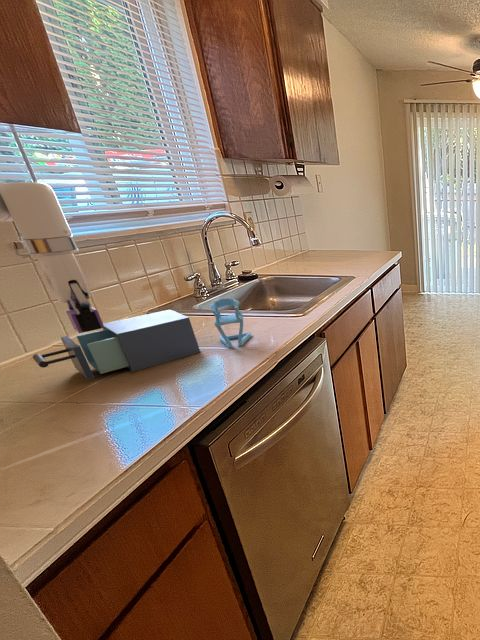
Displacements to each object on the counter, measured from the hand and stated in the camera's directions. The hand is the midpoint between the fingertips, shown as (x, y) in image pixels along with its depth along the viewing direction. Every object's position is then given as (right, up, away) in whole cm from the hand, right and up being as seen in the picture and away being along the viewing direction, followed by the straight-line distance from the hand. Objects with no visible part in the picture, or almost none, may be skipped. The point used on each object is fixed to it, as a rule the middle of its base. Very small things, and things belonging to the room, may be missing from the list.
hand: (88, 327), depth 91 cm
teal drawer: (0, -9, +4) cm, 10 cm away
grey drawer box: (+6, -6, +12) cm, 15 cm away
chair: (+21, -3, +20) cm, 30 cm away
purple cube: (0, 0, 0) cm, 0 cm away
